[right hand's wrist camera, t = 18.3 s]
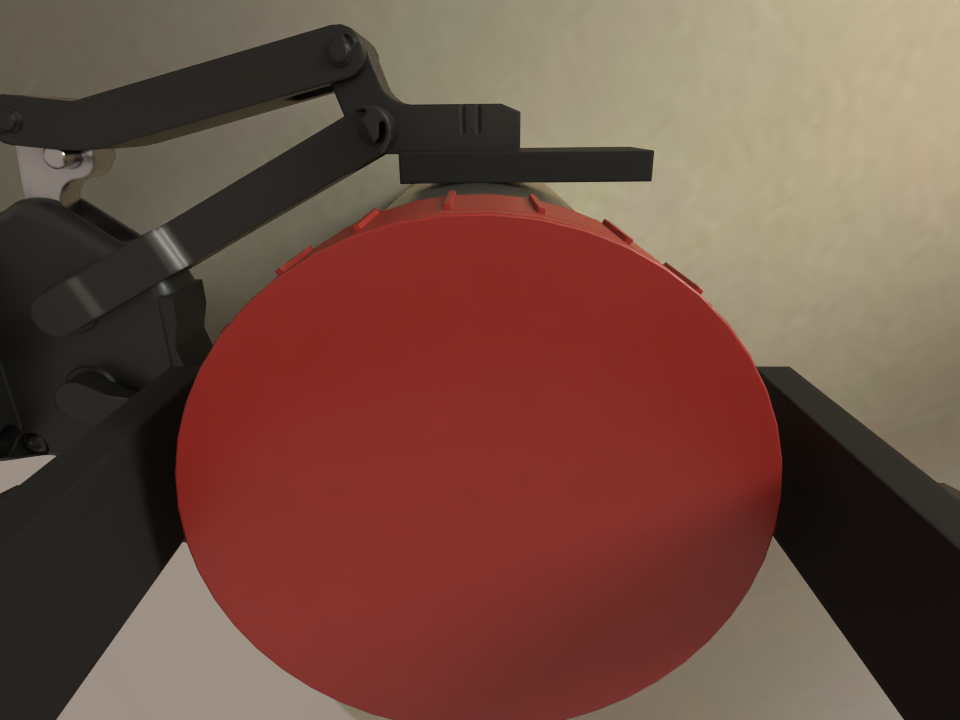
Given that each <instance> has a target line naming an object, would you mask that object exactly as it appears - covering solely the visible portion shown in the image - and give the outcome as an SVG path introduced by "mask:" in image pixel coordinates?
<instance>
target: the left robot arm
mask: <svg viewBox="0 0 960 720" xmlns="http://www.w3.org/2000/svg"><path fill="white" fill-rule="evenodd" d="M332 93H335V95H336V97H337V99H338V102H339V104H340V107H341V109H342V111H343V114H344V117H343V118H341V119H339V120H338V121H336V122H334V123H333V124H331V125H329V126H328V127H326V128H324V129H323V130H321V131H319V132H318V133H316V134H314V135H313V136H311V137H309V138H308V139H306V140H304V141H303V142H301V143H299V144H298V145H296V146H294V147H293V148H291V149H289V150H288V151H286V152H284V153H283V154H281V155H279V156H278V157H276V158H274V159H273V160H271V161H269V162H268V163H266V164H264V165H263V166H261V167H259V168H258V169H256V170H254V171H253V172H251V173H249V174H248V175H246V176H244V177H243V178H241V179H239V180H238V181H236V182H234V183H233V184H231V185H229V186H228V187H226V188H224V189H223V190H221V191H219V192H218V193H216V194H214V195H213V196H211V197H209V198H208V199H206V200H204V201H203V202H201V203H199V204H198V205H196V206H194V207H193V208H191V209H189V210H188V211H186V212H184V213H183V214H181V215H179V216H178V217H176V218H174V219H173V220H171V221H169V222H168V223H166V224H164V225H162V226H160V227H158V228H156V229H154V230H151V231H149V232H148V233H146V234H144V235H140V234H139V233H137V232H135V231H134V230H132V229H131V228H129V227H127V226H126V225H124V224H123V223H121V222H119V221H118V220H116V219H115V218H113V217H111V216H110V215H108V214H107V213H105V212H103V211H102V210H100V209H99V208H97V207H95V206H94V205H92V204H91V203H89V202H87V201H86V200H84V199H82V198H80V190H81V187H82V185H83V183H84V182H85V181H86V180H88V179H89V178H91V177H97V176H102V175H104V174H106V173H107V172H108V171H109V170H110V168H111V166H112V163H113V161H114V160H115V157H116V153H115V151H114V149H113V148H126V147H139V146H146V145H151V144H155V143H160V142H163V141H167V140H170V139H174V138H177V137H181V136H184V135H188V134H191V133H195V132H198V131H202V130H205V129H209V128H212V127H216V126H219V125H223V124H226V123H230V122H233V121H237V120H240V119H244V118H247V117H251V116H254V115H258V114H261V113H265V112H268V111H272V110H276V109H279V108H283V107H286V106H290V105H293V104H297V103H300V102H304V101H307V100H311V99H314V98H318V97H321V96H325V95H328V94H332ZM0 141H1V142H3V143H6V144H10V145H15V146H16V151H17V157H18V163H19V169H20V175H21V181H22V187H23V193H24V199H23V200H21V201H18V202H16V203H14V204H13V205H11V206H10V207H9V208H8V209H6V210H5V211H3V212H1V213H0V461H6V460H14V459H20V458H27V457H33V456H40V455H55V456H57V455H59V454H60V453H61V452H63V451H64V450H65V449H66V448H68V447H69V446H70V445H71V444H73V443H74V442H75V441H77V440H78V439H79V438H80V437H82V436H83V435H84V434H85V433H87V432H88V431H89V430H91V429H92V428H93V427H94V426H96V425H97V424H98V423H99V422H101V421H102V420H103V419H105V418H106V417H107V416H108V415H110V414H111V413H112V412H113V411H115V410H116V409H117V408H119V407H120V406H121V405H122V404H124V403H125V402H126V401H128V400H129V399H130V398H131V397H133V396H134V395H135V394H136V393H138V392H139V391H140V390H142V389H143V388H144V387H145V386H147V385H148V384H149V383H150V382H152V381H153V380H154V379H156V378H157V377H158V376H159V375H161V374H162V373H163V372H164V371H166V370H167V369H168V368H170V367H201V365H202V364H203V362H204V360H205V359H206V357H207V356H208V354H209V352H210V351H211V349H212V347H213V345H212V343H211V341H210V339H209V336H208V334H207V332H206V330H205V328H204V320H205V310H206V299H205V293H204V288H203V282H202V279H201V280H194V278H193V276H192V274H191V273H190V271H189V270H188V269H190V268H192V267H194V266H195V265H197V264H199V263H201V262H202V261H204V260H206V259H207V258H209V257H211V256H213V255H214V254H216V253H218V252H219V251H221V250H223V249H224V248H226V247H227V246H229V245H231V244H232V243H234V242H236V241H238V240H239V239H241V238H243V237H244V236H246V235H248V234H250V233H251V232H253V231H255V230H256V229H258V228H260V227H262V226H263V225H265V224H267V223H269V222H270V221H272V220H274V219H275V218H277V217H279V216H281V215H282V214H284V213H286V212H288V211H289V210H291V209H293V208H294V207H296V206H298V205H300V204H301V203H303V202H305V201H307V200H308V199H310V198H312V197H313V196H315V195H317V194H319V193H320V192H322V191H324V190H326V189H327V188H329V187H331V186H332V185H334V184H336V183H338V182H339V181H341V180H343V179H345V178H346V177H348V176H350V175H351V174H353V173H355V172H357V171H358V170H360V169H362V168H364V167H365V166H367V165H369V164H370V163H372V162H374V161H376V160H377V159H379V158H381V157H383V156H384V155H386V154H399V167H400V184H438V183H533V182H629V181H651V180H652V168H653V157H654V151H653V150H647V149H640V148H634V147H572V148H520V112H519V111H517V110H514V109H512V108H510V107H507V106H505V105H503V104H438V105H409V104H405V103H402V102H401V101H400V100H398V99H397V98H396V97H395V96H394V95H393V93H392V92H391V90H390V88H389V86H388V84H387V81H386V79H385V76H384V73H383V71H382V68H381V66H380V63H379V56H378V54H377V52H376V49H375V47H374V46H373V45H372V44H371V43H370V42H368V41H367V40H366V39H365V38H363V37H362V36H361V35H359V34H358V33H357V32H355V31H354V30H352V29H351V28H349V27H347V26H344V25H341V24H339V25H330V26H326V27H323V28H319V29H316V30H313V31H309V32H306V33H302V34H299V35H296V36H292V37H289V38H286V39H282V40H279V41H275V42H272V43H269V44H265V45H262V46H258V47H255V48H252V49H248V50H245V51H241V52H238V53H235V54H231V55H228V56H225V57H221V58H218V59H214V60H211V61H208V62H204V63H201V64H197V65H194V66H191V67H187V68H184V69H181V70H177V71H174V72H170V73H167V74H164V75H160V76H157V77H153V78H150V79H147V80H143V81H140V82H137V83H133V84H130V85H126V86H123V87H120V88H116V89H113V90H109V91H106V92H103V93H99V94H96V95H92V96H89V97H86V98H82V99H79V100H78V99H68V98H54V97H38V96H22V95H5V94H3V95H0ZM183 542H186V539H184V541H183ZM186 543H187V542H186Z"/></svg>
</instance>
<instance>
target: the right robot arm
mask: <svg viewBox="0 0 960 720" xmlns="http://www.w3.org/2000/svg"><path fill="white" fill-rule="evenodd" d="M756 368H757V370H758V372H759V374H760V376H761V378H762V380H763V382H764V385H765V387H766V389H767V391H768V395H769V398H770V401H771V405H772V408H773V411H774V415H775V418H776V422H777V425H778V433H779V440H780V448H781V456H782V484H781V499H780V504H779V510H778V515H777V521H776V526H775V530H774V533H773V536H774V538H775V539H776V541H777V542H778V543H779V545H780V546H781V548H782V549H783V550H784V552H785V553H786V555H787V556H788V557H789V559H790V560H791V562H792V563H793V564H794V566H795V567H796V569H797V570H798V571H799V573H800V574H801V576H802V577H803V578H804V580H805V581H806V583H807V584H808V585H809V587H810V588H811V590H812V591H813V593H814V594H815V595H816V597H817V598H818V600H819V601H820V602H821V604H822V605H823V607H824V608H825V609H826V611H827V612H828V614H829V615H830V616H831V618H832V619H833V621H834V622H835V623H836V625H837V626H838V628H839V629H840V630H841V632H842V633H843V635H844V636H845V638H846V639H847V640H848V642H849V643H850V645H851V646H852V647H853V649H854V650H855V652H856V653H857V654H858V656H859V657H860V659H861V660H862V661H863V663H864V664H865V666H866V667H867V668H868V670H869V671H870V673H871V674H872V675H873V677H874V678H875V680H876V681H877V682H878V684H879V685H880V687H881V688H882V690H883V691H884V692H885V694H886V695H887V697H888V698H889V699H890V701H891V702H892V704H893V705H894V706H895V708H896V709H897V711H898V712H899V713H900V715H901V716H902V718H903V719H904V720H960V491H959V490H957V489H955V488H953V487H951V486H949V485H947V484H944V483H937V482H936V481H934V480H933V479H932V478H931V477H929V476H928V475H927V474H925V473H924V472H923V471H922V470H920V469H919V468H918V467H917V466H915V465H914V464H913V463H911V462H910V461H909V460H908V459H906V458H905V457H904V456H903V455H901V454H900V453H899V452H897V451H896V450H895V449H894V448H892V447H891V446H890V445H889V444H887V443H886V442H885V441H883V440H882V439H881V438H880V437H878V436H877V435H876V434H875V433H873V432H872V431H871V430H869V429H868V428H867V427H866V426H864V425H863V424H862V423H861V422H859V421H858V420H857V419H855V418H854V417H853V416H852V415H850V414H849V413H848V412H847V411H845V410H844V409H843V408H841V407H840V406H839V405H838V404H836V403H835V402H834V401H832V400H831V399H830V398H829V397H827V396H826V395H825V394H824V393H822V392H821V391H820V390H818V389H817V388H816V387H815V386H813V385H812V384H811V383H810V382H808V381H807V380H806V379H804V378H803V377H802V376H801V375H799V374H798V373H797V372H796V371H794V370H793V369H792V368H790V367H756ZM199 369H200V367H170V368H168V369H167V370H166V371H164V372H163V373H162V374H161V375H159V376H158V377H157V378H156V379H154V380H153V381H152V382H150V383H149V384H148V385H147V386H145V387H144V388H143V389H142V390H140V391H139V392H138V393H136V394H135V395H134V396H133V397H131V398H130V399H129V400H128V401H126V402H125V403H124V404H122V405H121V406H120V407H119V408H117V409H116V410H115V411H113V412H112V413H111V414H110V415H108V416H107V417H106V418H105V419H103V420H102V421H101V422H99V423H98V424H97V425H96V426H94V427H93V428H92V429H91V430H89V431H88V432H87V433H85V434H84V435H83V436H82V437H80V438H79V439H78V440H77V441H75V442H74V443H73V444H71V445H70V446H69V447H68V448H66V449H65V450H64V451H63V452H61V453H60V454H59V455H57V456H56V457H55V458H54V459H52V460H51V461H50V462H49V463H47V464H46V465H45V466H43V467H42V468H41V469H40V470H38V471H37V472H36V473H35V474H33V475H32V476H31V477H30V478H28V479H27V480H26V481H24V482H23V483H22V484H21V485H17V486H15V487H13V488H11V489H9V490H7V491H5V492H3V493H1V494H0V720H56V719H57V718H58V716H59V715H60V713H61V712H62V711H63V709H64V708H65V706H66V705H67V704H68V702H69V701H70V699H71V698H72V697H73V695H74V694H75V692H76V691H77V690H78V688H79V687H80V685H81V684H82V682H83V681H84V680H85V678H86V677H87V675H88V674H89V673H90V671H91V670H92V668H93V667H94V666H95V664H96V663H97V661H98V660H99V659H100V657H101V656H102V654H103V653H104V652H105V650H106V649H107V647H108V646H109V645H110V643H111V642H112V640H113V639H114V637H115V636H116V635H117V633H118V632H119V630H120V629H121V628H122V626H123V625H124V623H125V622H126V621H127V619H128V618H129V616H130V615H131V614H132V612H133V611H134V609H135V608H136V607H137V605H138V604H139V602H140V601H141V600H142V598H143V597H144V595H145V594H146V592H147V591H148V590H149V588H150V587H151V585H152V584H153V583H154V581H155V580H156V578H157V577H158V576H159V574H160V573H161V571H162V570H163V569H164V567H165V566H166V564H167V563H168V562H169V560H170V559H171V557H172V556H173V555H174V553H175V552H176V550H177V549H178V548H179V546H180V545H181V543H182V542H183V541H184V539H185V535H184V531H183V527H182V523H181V518H180V514H179V510H178V503H177V492H176V480H175V466H176V452H177V438H178V433H179V429H180V425H181V420H182V416H183V412H184V408H185V403H186V401H187V398H188V396H189V393H190V391H191V388H192V386H193V384H194V381H195V379H196V376H197V374H198V371H199Z"/></svg>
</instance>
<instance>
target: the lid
mask: <svg viewBox="0 0 960 720" xmlns="http://www.w3.org/2000/svg"><path fill="white" fill-rule="evenodd" d="M276 273H277V274H278V275H279V276H278V277H277V278H275V279H274V280H273V281H272V282H271V283H270V284H269V285H267V286H266V287H265V288H264V289H263V290H262V291H261V292H259V293H258V294H257V295H256V296H255V297H254V298H253V299H251V300H250V301H249V302H248V303H247V304H246V305H245V306H244V307H243V308H242V310H241V311H240V312H239V313H238V314H237V315H236V317H235V318H234V319H233V320H232V321H231V323H229V324H228V325H227V326H226V327H224V328H223V329H222V331H221V332H220V333H221V334H220V336H219V337H218V339H217V341H216V342H215V344H214V346H213V347H212V349H211V351H210V352H209V354H208V356H207V357H206V359H205V360H204V362H203V364H202V365H201V367H200V369H199V371H198V374H197V376H196V379H195V381H194V384H193V386H192V388H191V391H190V393H189V396H188V398H187V401H186V403H185V408H184V412H183V416H182V420H181V425H180V429H179V433H178V438H177V452H176V466H175V480H176V492H177V503H178V510H179V514H180V518H181V523H182V527H183V531H184V535H185V539H186V542H187V544H188V547H189V549H190V552H191V554H192V557H193V559H194V562H195V564H196V567H197V569H198V571H199V573H200V575H201V577H202V578H203V580H204V582H205V584H206V585H207V587H208V589H209V591H210V592H211V594H212V596H213V598H214V599H215V601H216V602H217V603H218V605H219V606H220V607H221V609H222V610H223V611H224V613H225V614H226V615H227V616H228V618H229V619H230V620H231V622H232V623H233V624H234V626H235V627H236V628H237V629H238V630H239V631H240V632H241V633H242V634H243V635H244V636H245V637H246V638H247V639H248V640H249V641H250V642H251V643H252V644H253V645H254V646H255V647H256V648H257V649H258V650H259V651H261V652H262V653H263V654H264V655H265V656H267V657H268V658H269V659H270V660H272V661H273V662H274V663H275V664H277V665H278V666H279V667H280V668H282V669H283V670H284V671H286V672H287V673H289V674H291V675H292V676H294V677H295V678H297V679H298V680H300V681H302V682H303V683H305V684H306V685H308V686H309V687H311V688H313V689H315V690H317V691H319V692H321V693H323V694H325V695H327V696H329V697H331V698H333V699H335V700H337V701H339V702H341V703H344V704H347V705H349V706H352V707H354V708H357V709H360V710H362V711H365V712H368V713H370V714H374V715H377V716H381V717H385V718H388V719H392V720H567V719H570V718H573V717H577V716H580V715H583V714H586V713H590V712H593V711H596V710H599V709H601V708H604V707H606V706H608V705H611V704H613V703H616V702H618V701H620V700H623V699H625V698H627V697H630V696H631V695H633V694H635V693H637V692H639V691H640V690H642V689H644V688H646V687H648V686H650V685H651V684H653V683H655V682H657V681H658V680H660V679H661V678H663V677H664V676H666V675H667V674H668V673H670V672H671V671H673V670H674V669H676V668H677V667H678V666H680V665H681V664H683V663H684V662H685V661H687V660H688V659H689V658H690V657H691V656H692V655H693V654H694V653H696V652H697V651H698V650H699V649H700V648H701V647H702V646H704V645H705V644H706V643H707V642H708V641H709V640H710V639H711V638H712V637H713V636H714V635H715V633H716V632H717V631H718V630H719V629H720V628H721V627H722V626H723V624H724V623H725V622H726V621H727V620H728V619H729V618H730V617H731V615H732V614H733V612H734V611H735V610H736V608H737V607H738V605H739V604H740V602H741V601H742V599H743V598H744V596H745V595H746V594H747V592H748V591H749V589H750V587H751V585H752V583H753V581H754V579H755V577H756V575H757V573H758V571H759V569H760V567H761V566H762V564H763V562H764V560H765V557H766V554H767V551H768V548H769V545H770V542H771V539H772V536H773V533H774V530H775V526H776V521H777V515H778V510H779V504H780V499H781V484H782V456H781V448H780V440H779V433H778V425H777V422H776V418H775V415H774V411H773V408H772V405H771V401H770V398H769V395H768V391H767V389H766V387H765V385H764V382H763V380H762V378H761V376H760V374H759V372H758V370H757V368H756V366H755V364H754V362H753V360H752V358H751V356H750V354H749V353H748V351H747V350H746V348H745V347H744V345H743V344H742V343H741V341H740V340H739V338H738V337H737V335H736V334H735V332H734V331H733V330H732V328H731V327H730V325H729V324H728V323H727V322H726V321H725V320H724V318H723V317H722V316H721V315H720V314H719V313H718V312H717V311H716V310H715V309H714V308H713V307H712V306H711V305H710V304H709V303H708V302H707V300H706V299H705V298H704V297H703V296H702V295H701V293H702V292H703V290H702V289H701V288H700V287H699V286H697V285H696V284H695V283H693V282H692V281H691V280H689V279H688V278H687V277H685V276H684V275H682V274H681V273H680V272H678V271H677V270H676V269H674V268H673V267H672V266H670V265H669V264H668V263H666V262H665V263H664V264H661V263H660V262H659V261H657V260H656V259H655V258H654V257H652V256H651V255H650V254H648V253H647V252H646V251H645V250H643V249H642V248H641V247H639V246H638V245H637V244H635V243H634V242H633V239H632V238H631V237H629V236H628V235H627V234H625V233H624V232H623V231H621V230H620V229H619V228H617V227H616V226H615V225H613V224H612V223H611V222H610V221H608V220H606V219H604V220H603V222H602V223H601V222H599V221H597V220H595V219H592V218H590V217H587V216H585V215H582V214H580V213H577V212H575V211H572V210H570V209H567V208H565V207H561V206H557V205H553V204H549V203H545V202H541V201H540V200H539V199H538V198H537V196H536V195H533V194H529V198H522V197H513V196H504V195H495V194H474V195H456V191H455V190H453V191H449V193H448V195H447V196H444V197H438V198H431V199H425V200H419V201H414V202H411V203H408V204H404V205H401V206H398V207H395V208H391V209H388V210H385V211H381V212H379V210H378V208H376V209H374V210H372V211H371V212H369V213H368V214H367V215H366V216H364V217H363V218H362V219H361V220H359V221H358V222H357V223H355V224H353V225H351V226H349V227H347V228H345V229H344V230H342V231H341V232H339V233H338V234H336V235H334V236H333V237H331V238H330V239H328V240H327V241H325V242H324V243H322V244H321V245H319V246H317V247H316V248H315V249H313V247H312V246H310V247H308V248H307V249H305V250H304V251H303V252H301V253H300V254H298V255H297V256H296V257H294V258H293V259H291V260H290V261H289V262H287V263H286V264H285V265H283V266H282V267H280V268H279V269H278V270H277V271H276Z"/></svg>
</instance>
